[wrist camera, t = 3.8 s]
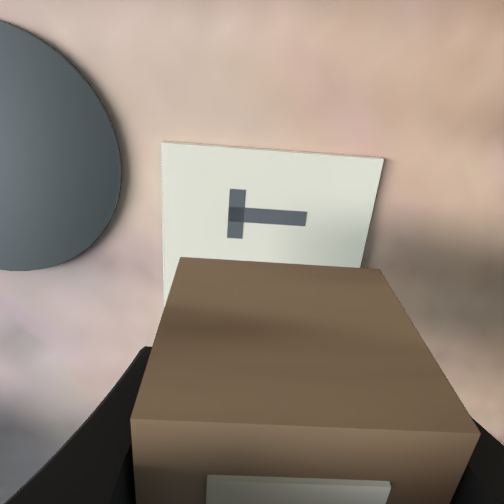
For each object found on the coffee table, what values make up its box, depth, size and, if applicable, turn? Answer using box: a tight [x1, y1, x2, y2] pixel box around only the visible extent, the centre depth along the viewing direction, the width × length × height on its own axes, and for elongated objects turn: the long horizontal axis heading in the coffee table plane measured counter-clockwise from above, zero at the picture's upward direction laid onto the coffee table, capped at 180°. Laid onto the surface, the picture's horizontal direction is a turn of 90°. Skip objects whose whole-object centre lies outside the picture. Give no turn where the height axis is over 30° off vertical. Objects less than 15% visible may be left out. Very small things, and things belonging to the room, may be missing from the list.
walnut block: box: [130, 257, 481, 504], centre depth 9 cm, size 5×5×5 cm
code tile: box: [161, 141, 384, 308], centre depth 17 cm, size 8×8×1 cm
